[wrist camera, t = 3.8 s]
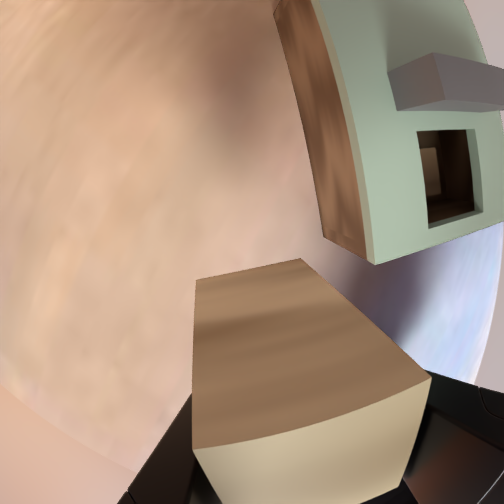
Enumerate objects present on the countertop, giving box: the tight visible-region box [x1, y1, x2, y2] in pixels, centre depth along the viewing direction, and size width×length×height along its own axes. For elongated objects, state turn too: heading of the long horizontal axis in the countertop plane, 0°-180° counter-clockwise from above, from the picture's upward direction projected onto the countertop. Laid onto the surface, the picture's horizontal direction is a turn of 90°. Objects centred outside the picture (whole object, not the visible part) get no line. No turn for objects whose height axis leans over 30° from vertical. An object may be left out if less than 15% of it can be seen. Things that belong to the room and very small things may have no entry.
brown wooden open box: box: [273, 0, 475, 260], centre depth 16 cm, size 16×12×6 cm
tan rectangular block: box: [192, 258, 432, 504], centre depth 7 cm, size 4×4×7 cm
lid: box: [311, 0, 504, 265], centre depth 11 cm, size 16×12×4 cm
